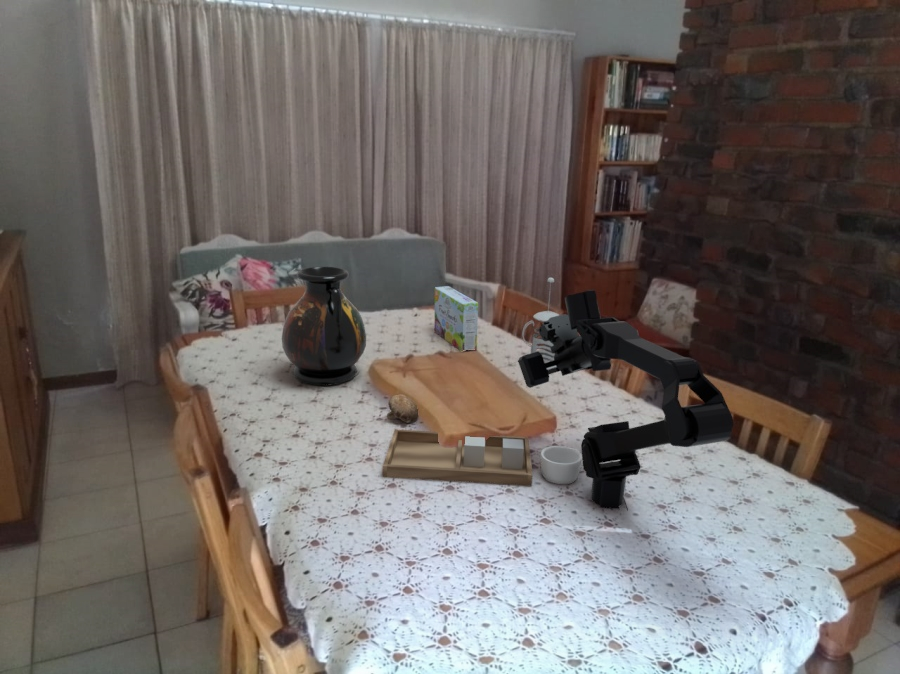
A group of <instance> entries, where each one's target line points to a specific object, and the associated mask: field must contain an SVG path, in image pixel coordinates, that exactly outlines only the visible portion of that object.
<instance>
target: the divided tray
mask: <svg viewBox="0 0 900 674" xmlns="http://www.w3.org/2000/svg"><path fill="white" fill-rule="evenodd" d="M438 432H439V431H431V430H430V431H429V430H426V431H425V430H411V429H398V428H397V429H395V428H394V430H393V434H392V436H391V440H390V442H389V445H388V449H387V451H386V455H385V458H384V461H383V463H382V477H383V478H395V479H396V478H398V479H399V478H400V479H411V480H412V479H413V480H427V481H428V480H429V481H444V482H445V481H446V482H458V483H459V482H463V483H477V484H478V483H479V484H493V485H506V486H507V485H509V486H524V487H525V486H526V487H527V486H528V487H532V486H533V467H532V459H531V449H530V447H531V446H530V439H529V437H528V436H513V435H500V436H490V437H489V438H488V439H487V440H486V441H485V455H484V467H471V466H463V465H464V446H462V440H458V447H453V448H444V447H442V446H441V445H440V444H439V442H438ZM503 438H504V439H521V440H523V445H524V453H523V467H522V470H520V469H504V468H502V445H503Z"/></svg>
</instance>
